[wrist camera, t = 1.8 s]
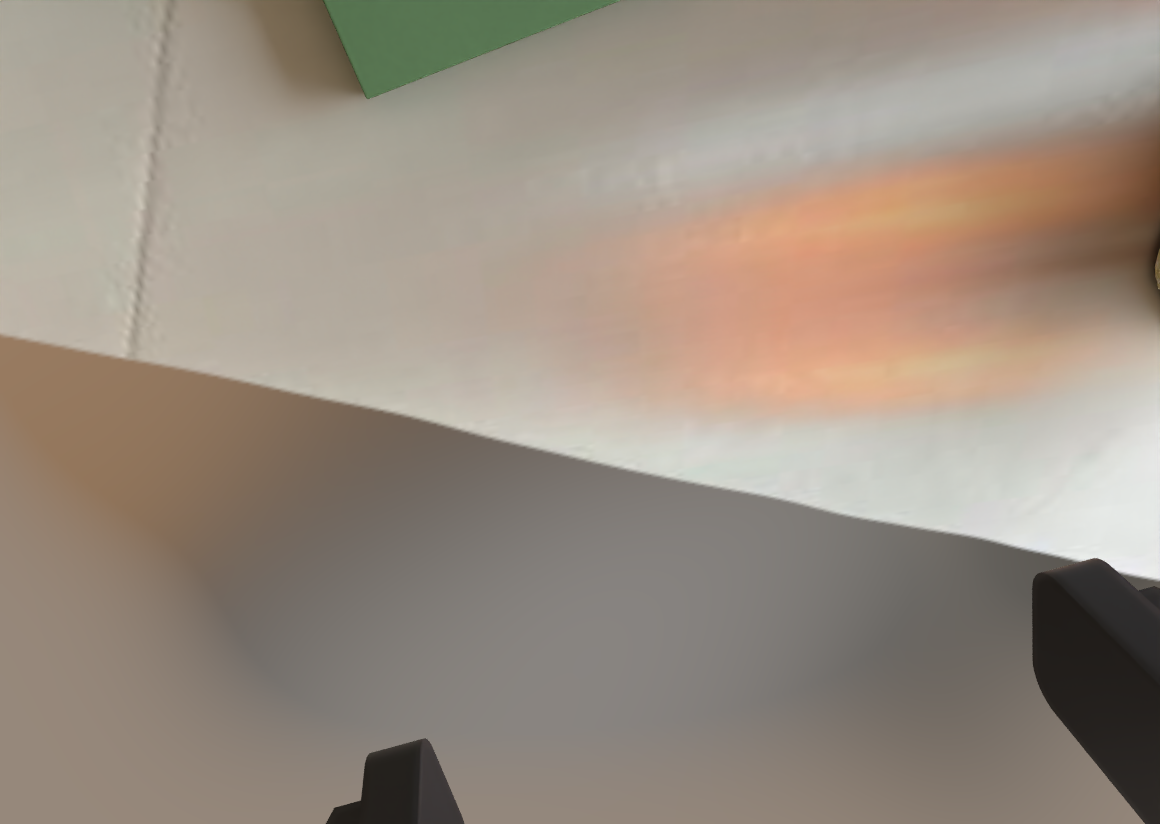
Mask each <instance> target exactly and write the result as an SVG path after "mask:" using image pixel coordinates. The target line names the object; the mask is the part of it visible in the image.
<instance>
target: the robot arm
mask: <svg viewBox="0 0 1160 824" xmlns="http://www.w3.org/2000/svg"><path fill="white" fill-rule="evenodd" d="M1032 590H1033V591H1032V601H1033V603H1032V609H1033V611H1032V613H1033V615H1032V616H1033V619H1032V620H1033V621H1032V622H1033V623H1032V624H1033V667H1034V672H1035V675H1036V679H1037V682H1038V684H1039V687H1040V689H1041V691H1042V693H1043V695H1044V697H1045V699H1046V701H1047V702H1048V704H1049V706H1050V707H1051V709H1052V710H1053V711H1054V712H1055V714H1056V715H1057V716H1058V717H1059V719H1060V720H1061V721H1062V722H1063V724H1064V725H1065V726H1066V727H1067V729H1069V731H1070V732H1071V733H1072V735H1073V736H1074V737H1075V738H1076V739H1077V741H1078V742H1079V743H1080V744H1081V746H1082V747H1083V748H1084V749H1085V751H1086V752H1087V753H1088V754H1089V755H1090V757H1091V758H1092V759H1093V760H1094V762H1095V763H1096V764H1097V765H1098V766H1099V768H1100V769H1101V770H1102V771H1103V773H1104V774H1105V775H1106V776H1107V777H1108V779H1109V780H1110V781H1111V782H1112V784H1113V785H1114V786H1115V787H1116V789H1117V790H1118V791H1119V792H1120V793H1121V795H1122V796H1123V797H1124V798H1125V800H1126V801H1127V802H1128V803H1129V804H1130V806H1131V807H1132V808H1133V809H1134V811H1135V812H1136V813H1137V814H1138V816H1139V817H1140V818H1141V819H1142V820H1143V822H1144V823H1145V824H1160V588H1157V587H1155V586H1153V587H1150V588H1146V589H1143V590H1139V591H1138V590H1137V589H1136V588H1135V587H1133V586H1132V585H1131V584H1130V583H1129V582H1128V581H1127V580H1126V579H1125V578H1123V577H1122V576H1121V575H1120V574H1119V573H1118V572H1117V571H1116V570H1115V569H1113V568H1112V567H1111V566H1110V565H1109V564H1108V563H1106V562H1105V561H1103V560H1101V559H1097V558H1093V559H1089V560H1086V561H1082V562H1078V563H1075V564H1071V565H1068V566H1064V567H1060V568H1056V569H1053V570H1049V571H1045V572H1042V573H1039V574H1037V575H1036V576H1035V578H1034V580H1033V588H1032ZM326 824H464V821H463V818H462V816H461V813H460V811H459V808H458V806H457V804H456V801H455V799H454V797H453V795H452V792H451V789H450V787H449V785H448V782H447V780H446V778H445V775H444V773H443V771H442V768H441V766H440V764H439V761H438V759H437V757H436V754H435V752H434V750H433V748H432V746H431V744H430V742H429V741H428V740H427V739H421V740H417V741H413V742H410V743H406V744H402V745H399V746H395V747H392V748H388V749H384V750H380V751H377V752H373V753H370V754H369V755H368V756H367V759H366V762H365V769H364V778H363V788H362V797H361V801H358V802H354V803H350V804H347V805H343V806H340V807H336V808H334V810H333V812H332V813H331V815H330V817H329V819H328V821H327V823H326Z"/></svg>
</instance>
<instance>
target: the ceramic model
mask: <svg viewBox="0 0 1160 824" xmlns="http://www.w3.org/2000/svg"><path fill="white" fill-rule="evenodd" d="M1155 278H1156V280H1157V286H1158V289H1159V290H1160V249H1159V252H1158V256H1157V260H1156V264H1155Z"/></svg>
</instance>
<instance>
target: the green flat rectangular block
mask: <svg viewBox="0 0 1160 824" xmlns="http://www.w3.org/2000/svg"><path fill="white" fill-rule="evenodd" d="M617 1H620V0H323V2H324V4H325V6H326V8H327V11H328V13H329V15H330V17H331V20H332V22H333V24H334V26H335V29H336V31H337V33H338V36H339V38H340V40H341V42H342V45H343V47H344V49H345V51H346V54H347V56H348V58H349V60H350V63H351V65H352V67H353V70H354V72H355V74H356V76H357V79H358V81H359V83H360V85H361V88H362V90H363V92H364V94H365V97H366V98H367V99H370V98H372V97H375V96H378V95H380V94H383V93H385V92H388V91H390V90H393V89H395V88H398V87H400V86H403V85H406V84H408V83H411V82H413V81H416V80H418V79H421V78H423V77H426V76H429V75H431V74H434V73H436V72H439V71H441V70H444V69H446V68H449V67H451V66H454V65H457V64H459V63H462V62H464V61H467V60H469V59H472V58H474V57H477V56H480V55H482V54H485V53H487V52H490V51H492V50H495V49H497V48H500V47H502V46H505V45H508V44H510V43H513V42H515V41H518V40H520V39H523V38H525V37H528V36H531V35H533V34H536V33H538V32H541V31H543V30H546V29H548V28H551V27H554V26H556V25H559V24H561V23H564V22H566V21H569V20H571V19H574V18H576V17H579V16H582V15H584V14H587V13H589V12H592V11H594V10H597V9H599V8H602V7H605V6H607V5H610V4H612V3H615V2H617Z"/></svg>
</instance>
